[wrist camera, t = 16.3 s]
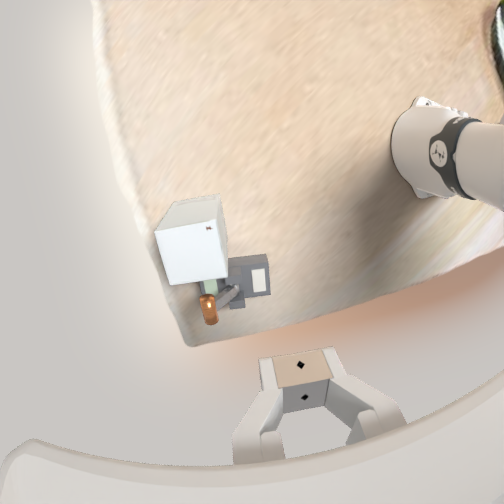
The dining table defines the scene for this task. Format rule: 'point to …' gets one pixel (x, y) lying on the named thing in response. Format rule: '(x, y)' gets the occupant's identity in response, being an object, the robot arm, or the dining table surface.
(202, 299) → the breaker lever
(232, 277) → the breaker housing
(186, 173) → the dining table surface
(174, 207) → the supplement box
